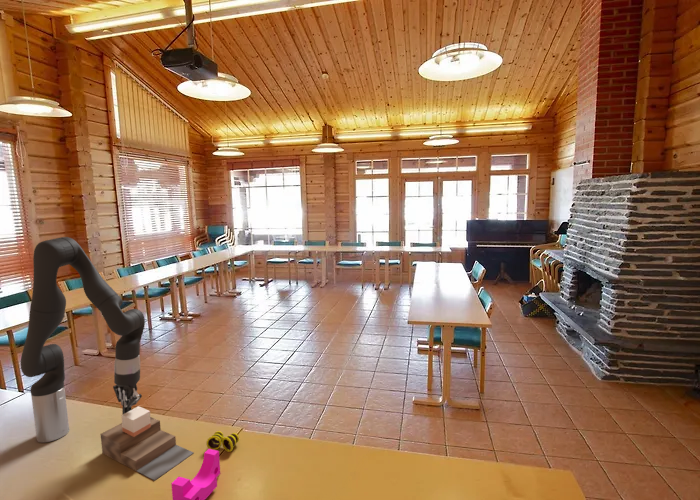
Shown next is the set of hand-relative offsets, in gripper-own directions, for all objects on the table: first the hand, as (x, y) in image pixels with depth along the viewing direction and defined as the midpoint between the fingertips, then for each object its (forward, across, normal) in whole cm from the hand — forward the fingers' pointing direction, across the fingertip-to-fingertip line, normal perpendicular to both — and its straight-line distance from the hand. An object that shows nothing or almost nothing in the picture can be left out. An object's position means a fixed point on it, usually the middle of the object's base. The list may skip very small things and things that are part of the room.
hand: (126, 414), depth 126 cm
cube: (+4, +5, 0) cm, 6 cm away
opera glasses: (+7, +32, +14) cm, 36 cm away
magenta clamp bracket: (+7, +41, -3) cm, 42 cm away
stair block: (+10, +11, 0) cm, 15 cm away
